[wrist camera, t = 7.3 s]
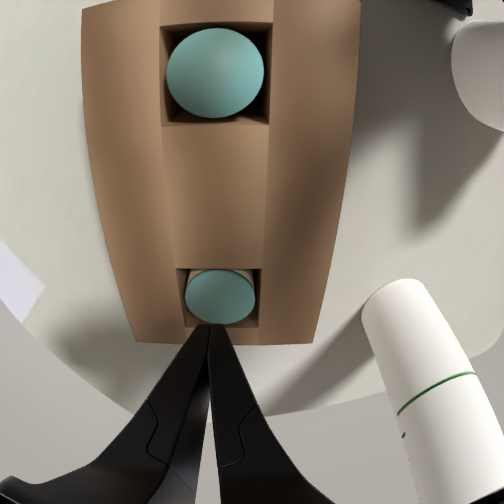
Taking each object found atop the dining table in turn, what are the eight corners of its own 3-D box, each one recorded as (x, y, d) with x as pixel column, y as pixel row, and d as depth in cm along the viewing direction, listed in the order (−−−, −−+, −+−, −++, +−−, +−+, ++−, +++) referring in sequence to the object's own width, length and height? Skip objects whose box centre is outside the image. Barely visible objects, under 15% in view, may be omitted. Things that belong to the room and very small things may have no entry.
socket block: (325, 19, 14) (360, 1, 9) (299, 286, 25) (312, 343, 20) (126, 23, 13) (82, 9, 8) (153, 286, 24) (135, 341, 19)
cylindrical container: (363, 340, 29) (424, 571, 8) (358, 292, 25) (445, 583, 5) (423, 319, 28) (506, 529, 7) (428, 269, 24) (549, 520, 4)
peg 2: (252, 222, 21) (256, 272, 16) (250, 269, 23) (253, 324, 19) (194, 222, 21) (181, 272, 16) (198, 269, 23) (189, 323, 18)
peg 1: (257, 42, 14) (265, 28, 10) (255, 104, 17) (262, 118, 12) (188, 43, 14) (166, 31, 10) (188, 105, 17) (167, 119, 12)
